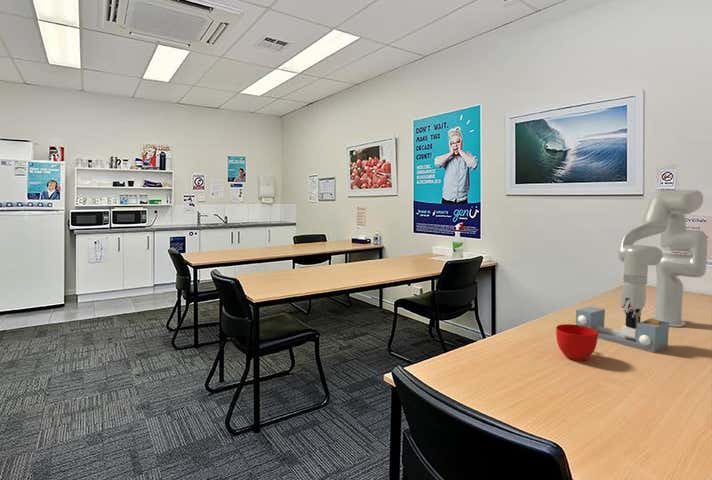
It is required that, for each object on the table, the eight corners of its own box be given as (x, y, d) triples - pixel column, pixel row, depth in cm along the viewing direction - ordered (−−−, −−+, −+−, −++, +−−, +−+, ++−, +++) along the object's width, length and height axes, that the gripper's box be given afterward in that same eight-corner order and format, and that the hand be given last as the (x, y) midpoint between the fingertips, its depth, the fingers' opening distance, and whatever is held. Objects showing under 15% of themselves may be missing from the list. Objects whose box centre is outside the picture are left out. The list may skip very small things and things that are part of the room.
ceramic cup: (589, 349, 151) (590, 323, 150) (600, 366, 135) (602, 337, 134) (551, 345, 155) (552, 320, 154) (557, 361, 139) (559, 333, 138)
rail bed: (589, 327, 177) (590, 306, 176) (667, 347, 152) (669, 322, 151) (574, 332, 171) (575, 310, 170) (653, 353, 146) (654, 327, 145)
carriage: (629, 333, 161) (630, 309, 160) (643, 337, 157) (645, 311, 156) (620, 336, 158) (621, 311, 157) (634, 340, 153) (636, 314, 152)
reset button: (649, 326, 154) (650, 318, 153) (660, 328, 151) (661, 320, 150) (645, 327, 152) (645, 319, 151) (656, 330, 149) (656, 322, 148)
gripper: (634, 275, 163) (632, 320, 164) (613, 280, 154) (611, 327, 156) (656, 278, 156) (653, 325, 158) (635, 283, 148) (633, 332, 149)
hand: (632, 325), depth 157 cm, fingers closed on carriage, 3 cm apart
